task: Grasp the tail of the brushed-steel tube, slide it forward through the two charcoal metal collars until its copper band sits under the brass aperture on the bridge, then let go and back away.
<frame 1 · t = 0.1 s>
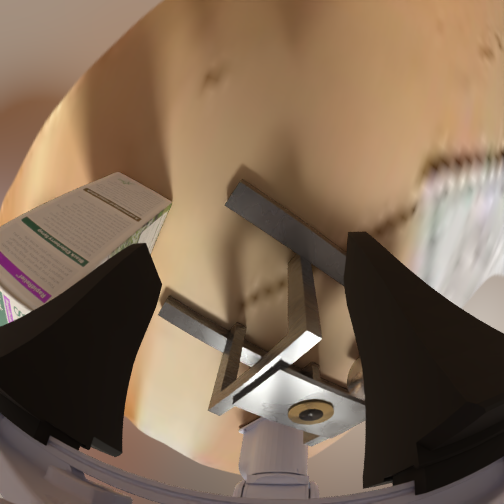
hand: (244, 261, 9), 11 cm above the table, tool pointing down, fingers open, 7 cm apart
steel tube: (415, 396, 24), point 3 cm above the table
syrup box: (135, 213, 21), on the table
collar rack: (310, 325, 23), on the table
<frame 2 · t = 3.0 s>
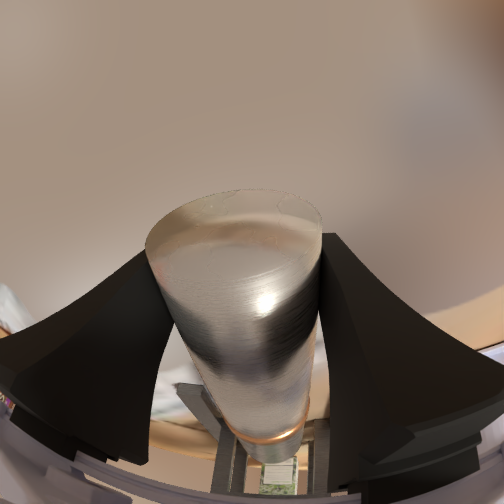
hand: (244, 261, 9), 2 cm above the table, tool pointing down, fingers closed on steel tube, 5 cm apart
steel tube: (262, 390, 13), point 3 cm above the table, touching gripper
syrup box: (281, 457, 35), on the table
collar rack: (277, 432, 25), on the table
candy box: (11, 364, 32), on the table
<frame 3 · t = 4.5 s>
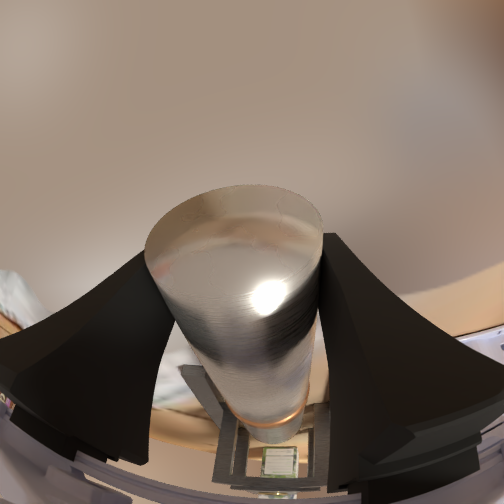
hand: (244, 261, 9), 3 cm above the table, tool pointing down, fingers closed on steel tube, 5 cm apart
steel tube: (263, 376, 14), point 3 cm above the table, tilted 6°, touching gripper
syrup box: (281, 448, 37), on the table
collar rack: (278, 418, 26), on the table
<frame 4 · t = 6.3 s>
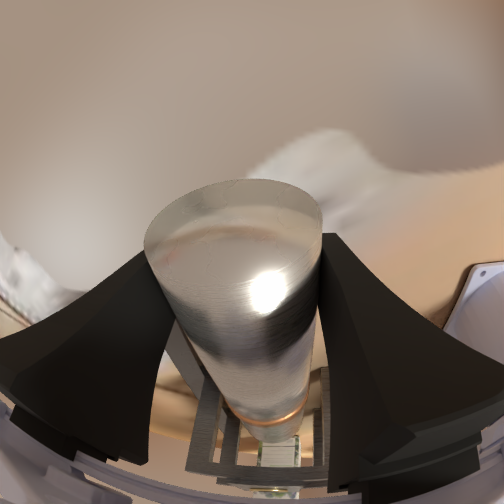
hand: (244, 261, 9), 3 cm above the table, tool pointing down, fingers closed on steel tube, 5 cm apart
steel tube: (263, 374, 14), point 3 cm above the table, tilted 5°, touching gripper
syrup box: (281, 438, 32), on the table
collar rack: (275, 392, 22), on the table
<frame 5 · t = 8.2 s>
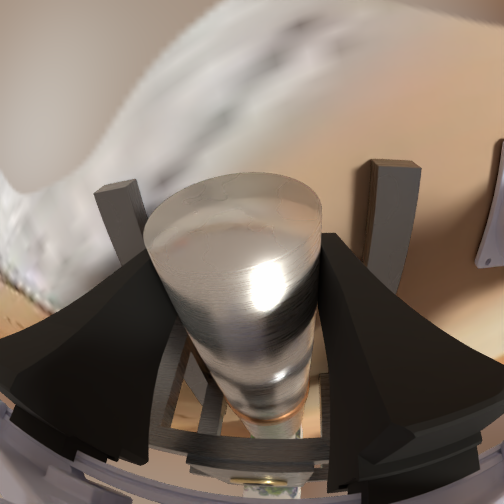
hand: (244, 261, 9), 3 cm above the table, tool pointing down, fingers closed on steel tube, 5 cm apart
steel tube: (263, 371, 14), point 3 cm above the table, tilted 6°, touching gripper
syrup box: (279, 423, 28), on the table
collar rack: (269, 343, 18), on the table
when the fingers open (2 cm above the table, at t = 9.6 s): steel tube stays where it is, point 3 cm above the table.
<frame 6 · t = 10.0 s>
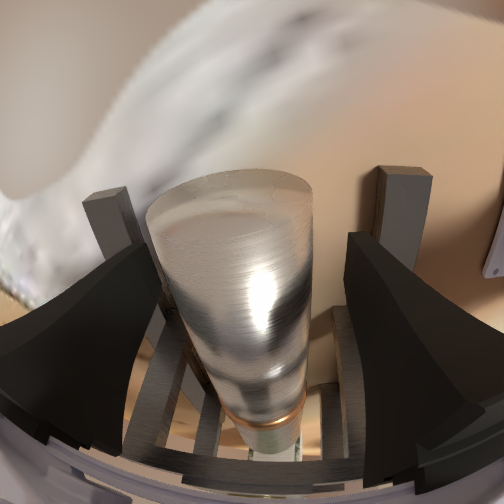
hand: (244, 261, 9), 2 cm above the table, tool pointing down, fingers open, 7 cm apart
steel tube: (259, 374, 13), point 3 cm above the table, tilted 6°
syrup box: (278, 430, 27), on the table
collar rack: (268, 355, 17), on the table
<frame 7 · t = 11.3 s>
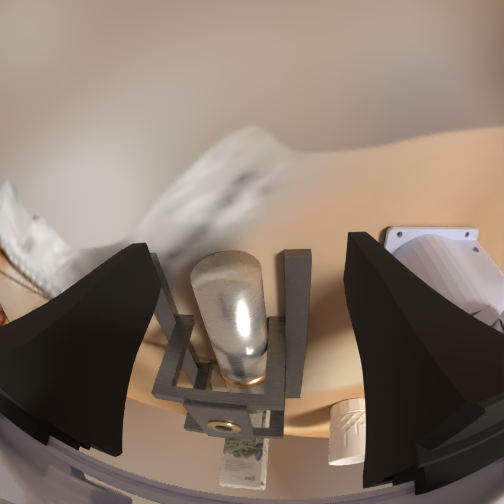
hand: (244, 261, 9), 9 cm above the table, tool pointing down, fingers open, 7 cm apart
steel tube: (242, 353, 24), point 3 cm above the table, tilted 25°
syrup box: (252, 405, 38), on the table
white cup: (350, 404, 37), on the table
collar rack: (236, 343, 28), on the table
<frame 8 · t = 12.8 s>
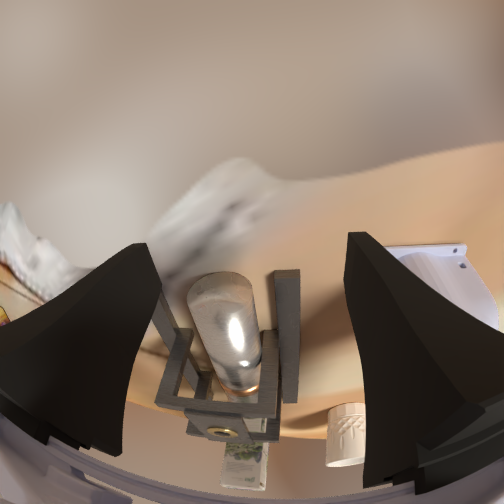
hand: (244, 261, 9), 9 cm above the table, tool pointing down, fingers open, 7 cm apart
steel tube: (239, 364, 26), point 3 cm above the table, tilted 25°, touching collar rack
syrup box: (252, 409, 39), on the table
white cup: (347, 408, 38), on the table
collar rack: (234, 354, 29), on the table
candy box: (5, 316, 36), on the table
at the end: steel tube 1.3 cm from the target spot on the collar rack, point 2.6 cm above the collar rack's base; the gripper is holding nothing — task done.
